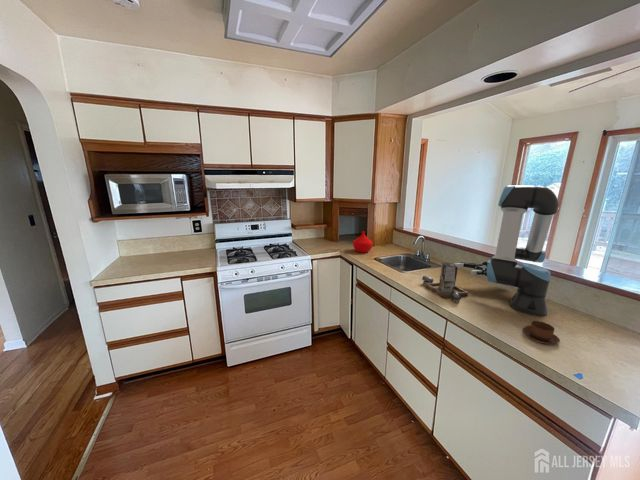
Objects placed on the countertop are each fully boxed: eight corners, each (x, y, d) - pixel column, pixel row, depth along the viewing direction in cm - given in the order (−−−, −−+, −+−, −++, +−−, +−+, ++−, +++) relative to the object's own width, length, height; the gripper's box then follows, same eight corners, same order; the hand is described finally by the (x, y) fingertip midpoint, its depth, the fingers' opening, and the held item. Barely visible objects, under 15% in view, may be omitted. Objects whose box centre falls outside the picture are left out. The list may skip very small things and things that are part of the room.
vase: (374, 253, 229) (376, 233, 224) (355, 254, 226) (356, 233, 222) (368, 248, 246) (369, 229, 242) (350, 249, 244) (351, 229, 240)
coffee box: (454, 293, 146) (458, 267, 142) (442, 292, 147) (446, 266, 143) (449, 287, 155) (453, 262, 151) (438, 286, 156) (441, 261, 152)
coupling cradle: (467, 296, 145) (468, 292, 145) (444, 298, 141) (444, 294, 141) (447, 285, 160) (447, 281, 160) (425, 287, 156) (426, 283, 156)
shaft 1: (432, 285, 159) (433, 278, 158) (430, 286, 158) (431, 279, 157) (424, 282, 164) (425, 275, 163) (421, 283, 162) (422, 276, 161)
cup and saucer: (539, 348, 100) (543, 334, 99) (514, 330, 112) (517, 318, 110) (567, 347, 101) (570, 333, 100) (539, 330, 113) (542, 317, 112)
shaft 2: (449, 298, 142) (451, 290, 141) (455, 298, 142) (456, 290, 140) (454, 303, 136) (455, 295, 135) (460, 303, 136) (461, 295, 135)
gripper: (508, 280, 146) (478, 282, 141) (473, 266, 170) (447, 268, 165) (510, 268, 145) (480, 270, 140) (475, 256, 168) (448, 257, 163)
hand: (462, 269), depth 152 cm, fingers open, 12 cm apart
